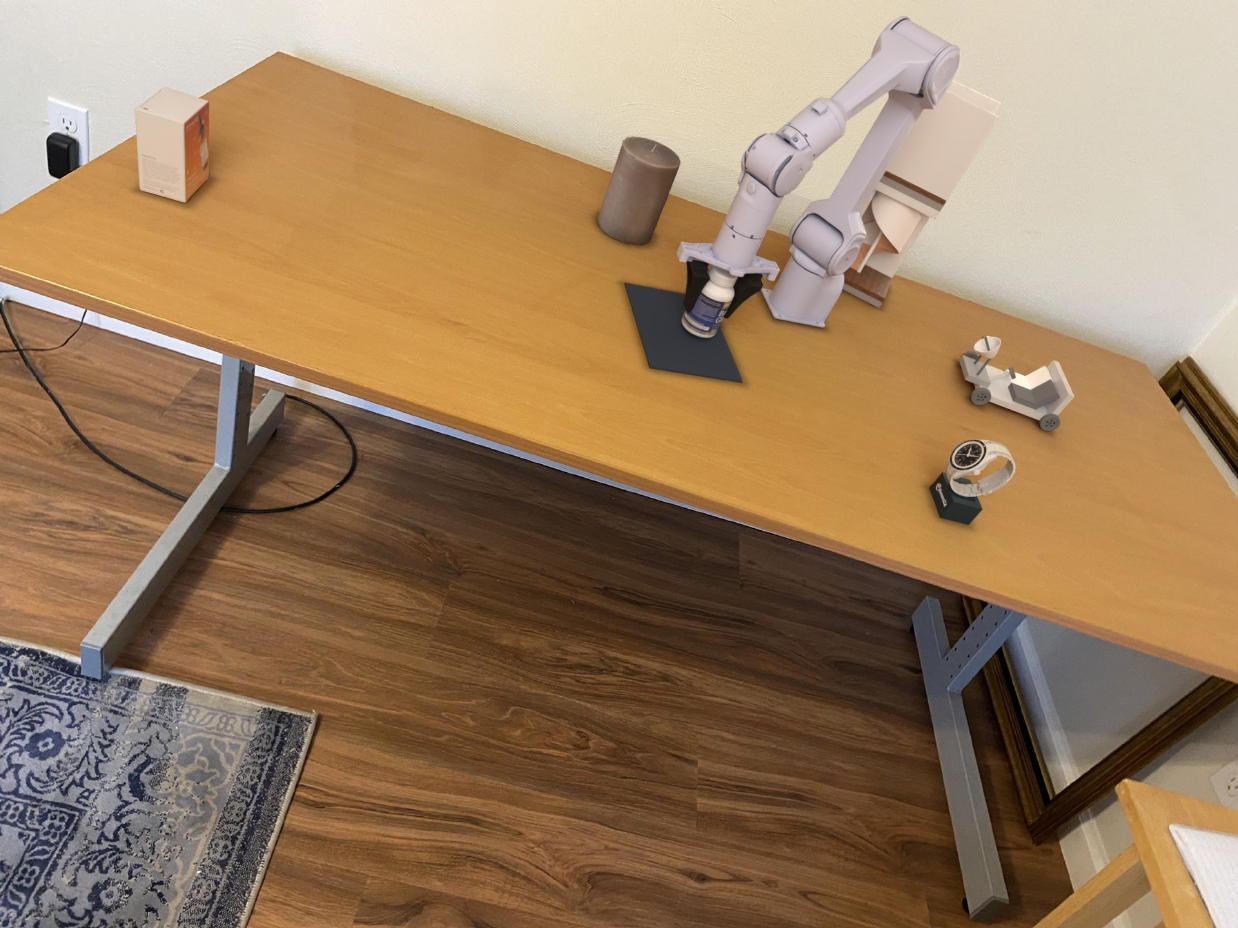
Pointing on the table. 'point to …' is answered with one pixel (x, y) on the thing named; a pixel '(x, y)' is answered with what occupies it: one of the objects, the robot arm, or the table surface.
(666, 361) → the felt mat
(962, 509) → the watch
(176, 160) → the small box
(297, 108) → the table surface
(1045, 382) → the toy car
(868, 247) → the tall cream cabinet
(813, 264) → the robot arm
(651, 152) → the pillar candle
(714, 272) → the pill bottle
